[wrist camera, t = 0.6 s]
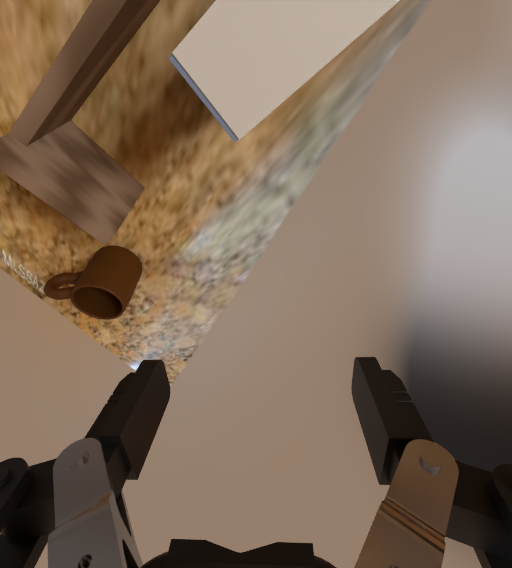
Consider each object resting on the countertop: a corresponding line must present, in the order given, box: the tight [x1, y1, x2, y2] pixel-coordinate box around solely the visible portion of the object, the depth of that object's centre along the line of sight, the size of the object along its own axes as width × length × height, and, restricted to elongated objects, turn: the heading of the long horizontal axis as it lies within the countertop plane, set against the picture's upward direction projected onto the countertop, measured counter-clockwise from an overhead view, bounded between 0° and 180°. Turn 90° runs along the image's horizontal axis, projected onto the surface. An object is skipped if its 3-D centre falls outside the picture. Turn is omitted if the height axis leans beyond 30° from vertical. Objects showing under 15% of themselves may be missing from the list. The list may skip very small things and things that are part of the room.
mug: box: [44, 246, 142, 319], centre depth 45 cm, size 12×8×9 cm, turn 81°
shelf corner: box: [0, 0, 160, 245], centre depth 26 cm, size 12×32×12 cm, turn 128°
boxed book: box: [169, 0, 400, 142], centre depth 22 cm, size 6×14×16 cm, turn 128°
